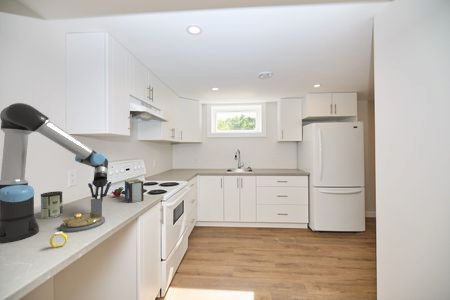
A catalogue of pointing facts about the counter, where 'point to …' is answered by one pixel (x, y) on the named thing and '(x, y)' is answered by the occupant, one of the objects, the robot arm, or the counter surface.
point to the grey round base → (78, 229)
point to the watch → (58, 235)
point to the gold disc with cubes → (86, 216)
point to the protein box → (134, 190)
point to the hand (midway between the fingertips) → (98, 206)
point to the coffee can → (51, 204)
